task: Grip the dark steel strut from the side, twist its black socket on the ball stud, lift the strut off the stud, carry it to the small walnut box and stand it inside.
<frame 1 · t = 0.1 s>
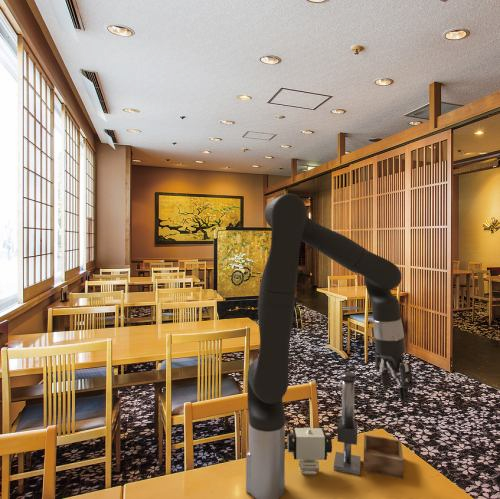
hand: (395, 393, 96), 22 cm above the table, tool pointing down, fingers open, 8 cm apart
bin: (382, 463, 101), on the table
stud mount: (347, 465, 100), on the table
strut: (347, 438, 100), point 8 cm above the table, touching stud mount
pneumatic rotary actuator: (308, 471, 98), on the table
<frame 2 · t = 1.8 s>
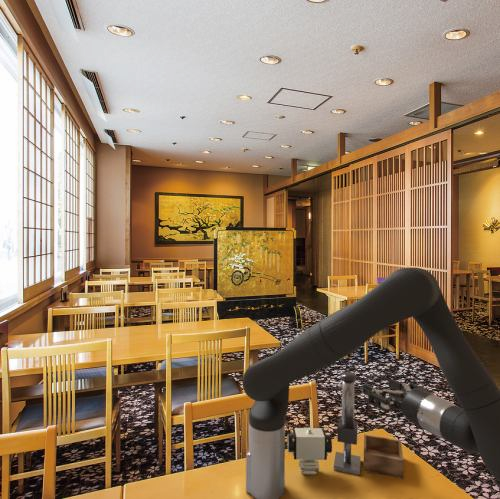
hand: (376, 385, 89), 27 cm above the table, tool horizontal, fingers open, 8 cm apart
nothing on the table moved.
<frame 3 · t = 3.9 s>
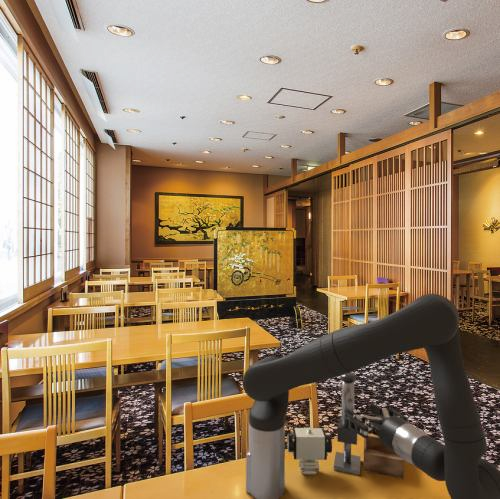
hand: (358, 409, 95), 18 cm above the table, tool horizontal, fingers open, 8 cm apart
nothing on the table moved.
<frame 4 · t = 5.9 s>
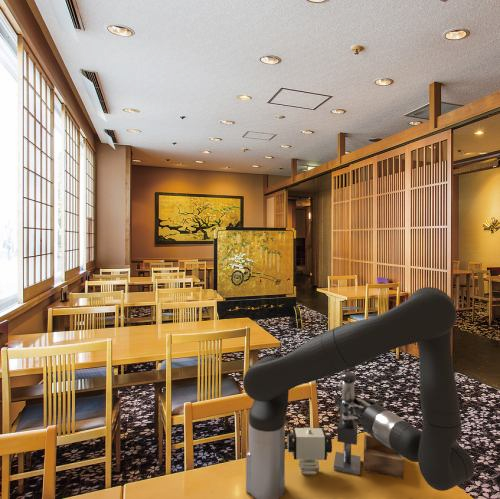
hand: (341, 398, 102), 18 cm above the table, tool horizontal, fingers closed on strut, 3 cm apart
strut: (347, 438, 100), point 8 cm above the table, touching gripper, stud mount
everything else where it was.
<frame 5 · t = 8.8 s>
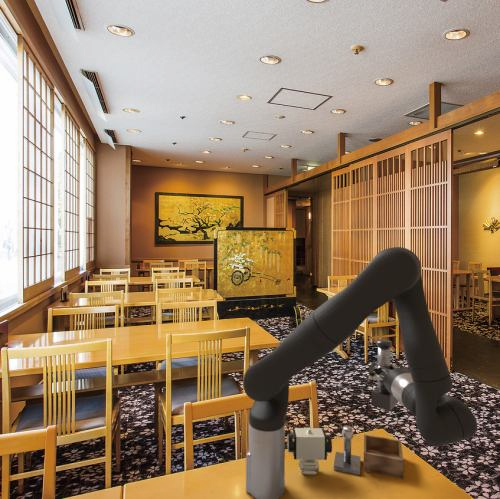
hand: (380, 365, 103), 27 cm above the table, tool horizontal, fingers closed on strut, 3 cm apart
strut: (383, 405, 100), point 17 cm above the table, touching gripper
everything else where it was.
when the fingers open (13 cm above the table, at t = 11.7 s): strut drops 1 cm, resting on bin.
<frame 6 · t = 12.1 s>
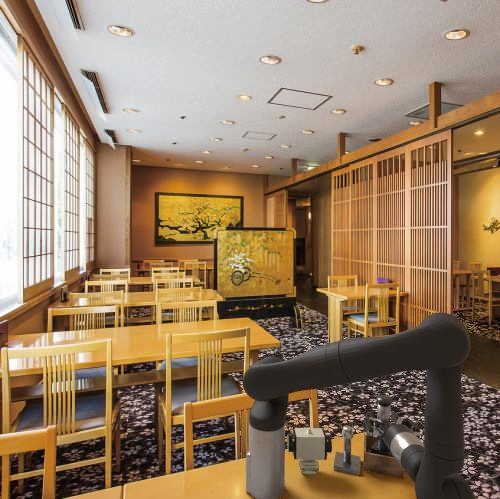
hand: (379, 414, 103), 13 cm above the table, tool horizontal, fingers open, 6 cm apart
strut: (383, 460, 100), point 1 cm above the table, touching bin
everything else where it was.
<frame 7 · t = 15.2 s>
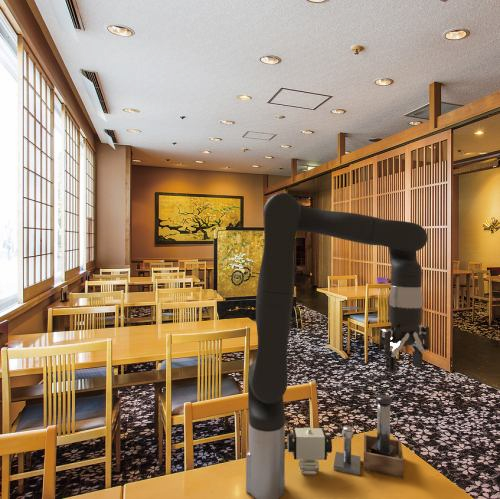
hand: (404, 369, 87), 32 cm above the table, tool pointing down, fingers open, 8 cm apart
nothing on the table moved.
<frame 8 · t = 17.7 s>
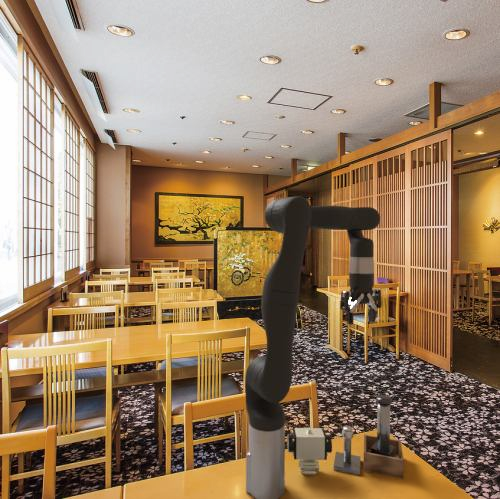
hand: (361, 322, 111), 38 cm above the table, tool pointing down, fingers open, 8 cm apart
nothing on the table moved.
at the end: strut inside the target area on the bin (0.3 cm from its centre), point 1.0 cm above the bin's base; strut tilted 0°; the gripper is holding nothing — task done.
